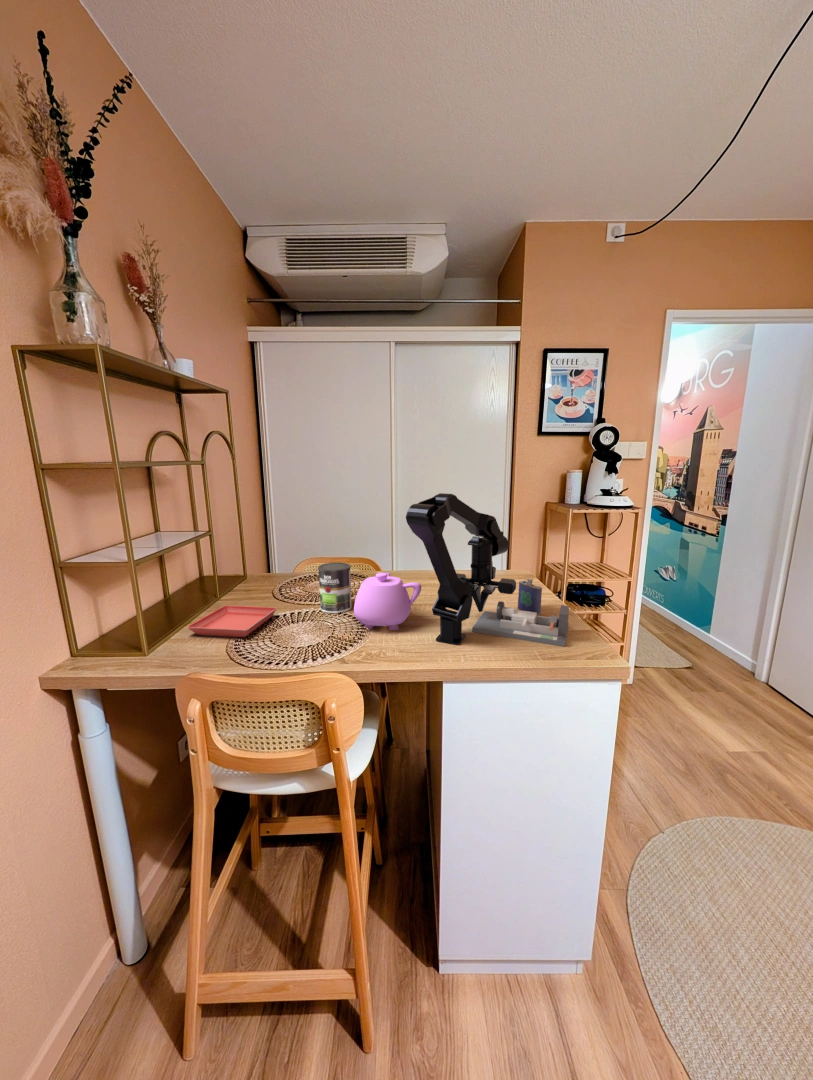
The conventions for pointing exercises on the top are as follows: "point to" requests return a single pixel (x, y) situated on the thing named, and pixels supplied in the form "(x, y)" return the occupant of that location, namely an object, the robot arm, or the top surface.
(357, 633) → the top surface
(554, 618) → the marker
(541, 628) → the gauge bench
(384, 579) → the teapot
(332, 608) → the coffee can
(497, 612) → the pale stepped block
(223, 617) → the plant saucer
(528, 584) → the flask
